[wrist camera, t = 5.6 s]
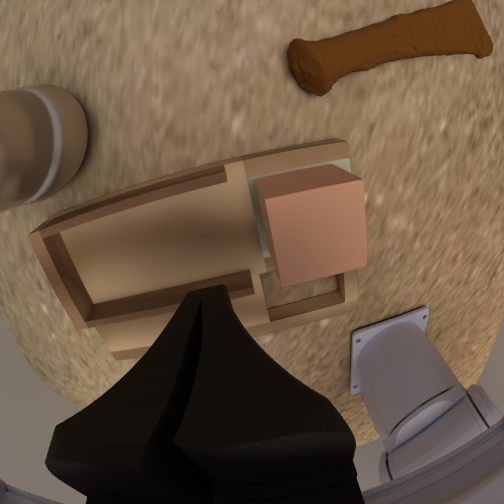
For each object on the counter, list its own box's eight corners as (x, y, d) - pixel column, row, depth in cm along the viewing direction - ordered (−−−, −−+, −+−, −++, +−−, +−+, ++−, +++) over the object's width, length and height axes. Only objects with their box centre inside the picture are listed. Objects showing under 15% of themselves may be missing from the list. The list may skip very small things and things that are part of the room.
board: (350, 297, 22) (368, 325, 19) (120, 347, 22) (111, 378, 19) (337, 138, 17) (362, 145, 14) (53, 214, 17) (27, 235, 14)
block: (339, 234, 18) (367, 265, 14) (269, 251, 18) (281, 287, 14) (331, 163, 16) (363, 179, 12) (253, 178, 16) (264, 199, 12)
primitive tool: (466, -3, 12) (494, -8, 9) (491, 54, 14) (520, 54, 11) (273, 50, 14) (286, 37, 11) (316, 127, 17) (338, 131, 14)
